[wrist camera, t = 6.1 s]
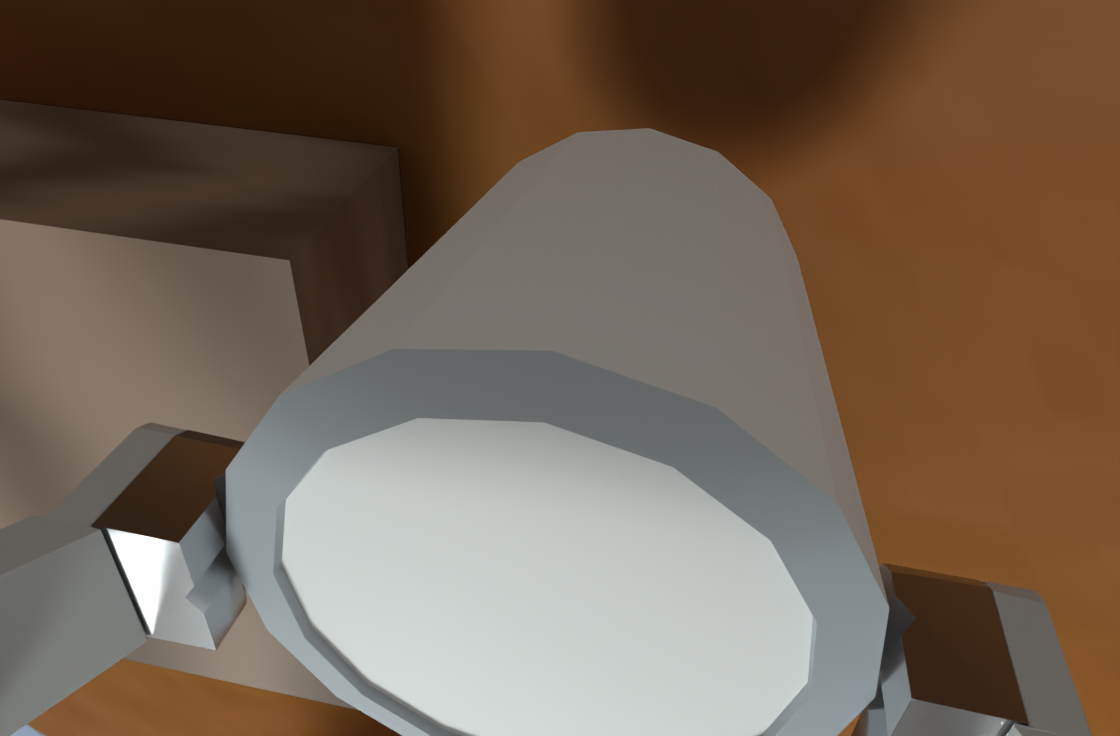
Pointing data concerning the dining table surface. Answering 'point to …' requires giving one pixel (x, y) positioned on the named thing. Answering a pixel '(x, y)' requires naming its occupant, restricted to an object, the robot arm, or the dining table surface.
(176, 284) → the block
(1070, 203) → the dining table surface
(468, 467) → the white cup
